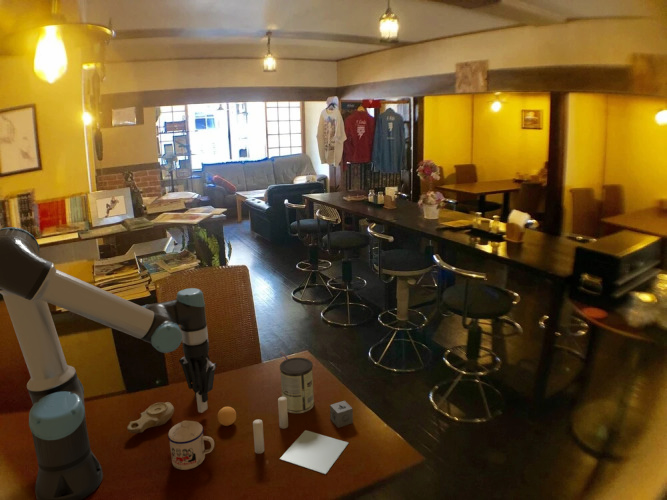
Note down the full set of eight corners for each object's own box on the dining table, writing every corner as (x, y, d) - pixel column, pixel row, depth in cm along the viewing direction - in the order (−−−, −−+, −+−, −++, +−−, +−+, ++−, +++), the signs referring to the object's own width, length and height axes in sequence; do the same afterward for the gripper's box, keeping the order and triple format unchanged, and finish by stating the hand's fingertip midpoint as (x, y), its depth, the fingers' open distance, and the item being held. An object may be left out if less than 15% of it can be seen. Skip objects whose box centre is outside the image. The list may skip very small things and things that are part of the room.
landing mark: (279, 459, 135) (279, 458, 135) (305, 430, 147) (305, 430, 147) (325, 474, 129) (325, 473, 129) (348, 443, 141) (348, 442, 141)
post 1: (253, 452, 138) (250, 423, 136) (258, 446, 141) (256, 418, 138) (260, 454, 137) (258, 426, 135) (266, 449, 139) (264, 420, 137)
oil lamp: (126, 440, 145) (123, 425, 144) (146, 412, 159) (144, 398, 157) (162, 441, 144) (160, 425, 143) (179, 412, 158) (177, 398, 157)
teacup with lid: (165, 470, 132) (160, 431, 129) (179, 448, 141) (174, 411, 138) (210, 472, 131) (206, 433, 128) (220, 449, 140) (217, 413, 137)
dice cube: (338, 428, 148) (337, 413, 147) (330, 419, 153) (330, 404, 151) (352, 423, 150) (352, 408, 149) (344, 414, 155) (344, 400, 153)
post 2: (277, 427, 149) (276, 400, 147) (282, 422, 151) (281, 396, 149) (285, 429, 148) (283, 402, 146) (289, 424, 150) (288, 398, 148)
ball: (214, 426, 150) (212, 410, 149) (226, 417, 155) (224, 401, 153) (229, 431, 148) (227, 415, 146) (240, 421, 152) (239, 405, 151)
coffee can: (285, 395, 166) (283, 356, 163) (316, 396, 165) (314, 357, 161) (278, 413, 156) (276, 372, 153) (311, 414, 155) (310, 373, 152)
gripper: (220, 338, 149) (227, 408, 155) (187, 331, 155) (194, 399, 161) (203, 349, 143) (211, 421, 149) (169, 341, 148) (178, 411, 155)
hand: (202, 409), depth 155 cm, fingers closed
